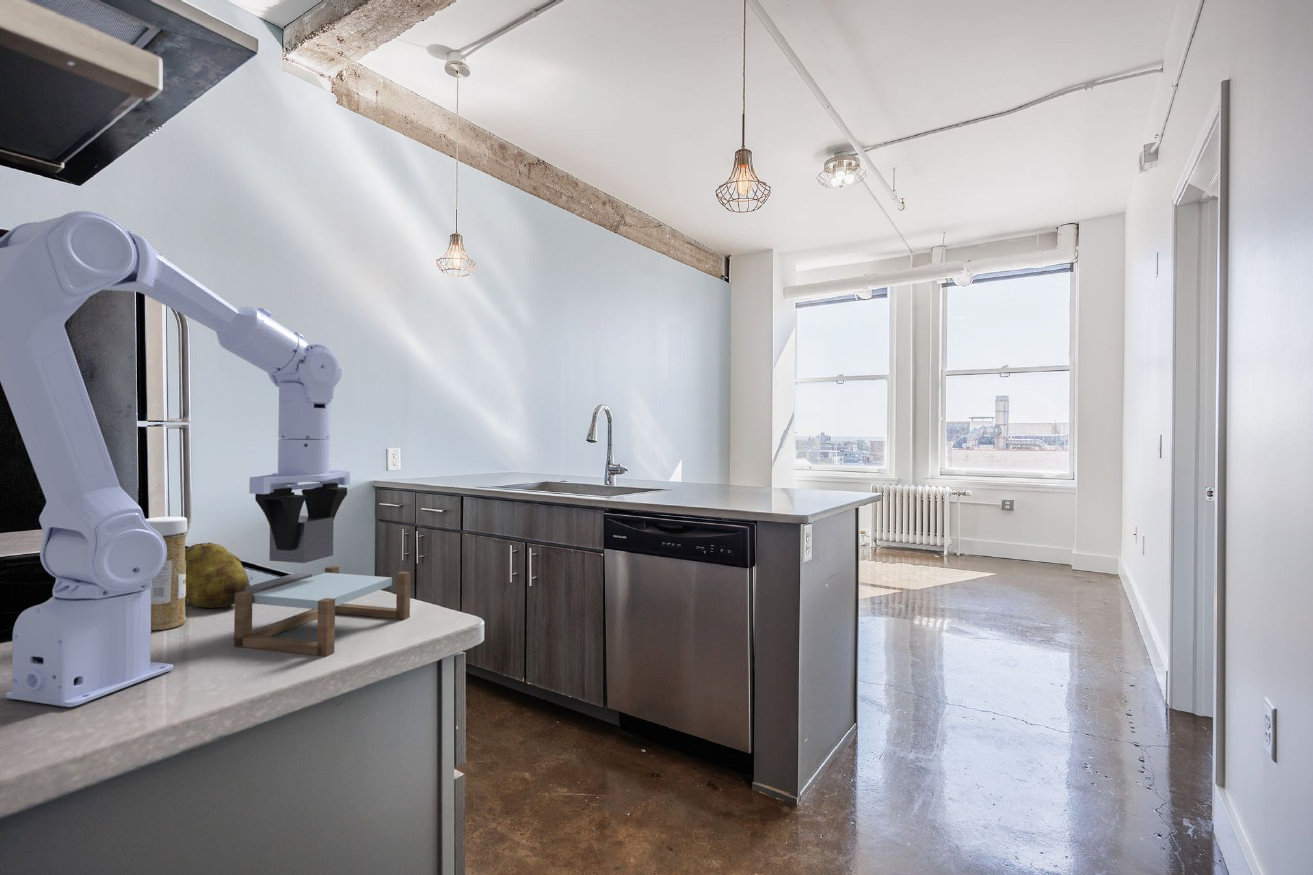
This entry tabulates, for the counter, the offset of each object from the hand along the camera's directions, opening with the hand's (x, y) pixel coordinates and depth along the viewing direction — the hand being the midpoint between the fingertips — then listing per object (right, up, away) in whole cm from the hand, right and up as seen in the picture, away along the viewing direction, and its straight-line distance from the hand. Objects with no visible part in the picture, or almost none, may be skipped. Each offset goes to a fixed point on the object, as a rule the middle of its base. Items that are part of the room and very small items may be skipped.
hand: (303, 545), depth 80 cm
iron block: (0, -2, 0) cm, 2 cm away
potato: (-18, -10, +9) cm, 22 cm away
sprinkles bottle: (-16, -10, -2) cm, 19 cm away
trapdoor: (+3, -6, -2) cm, 7 cm away
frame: (+5, -10, -3) cm, 11 cm away
